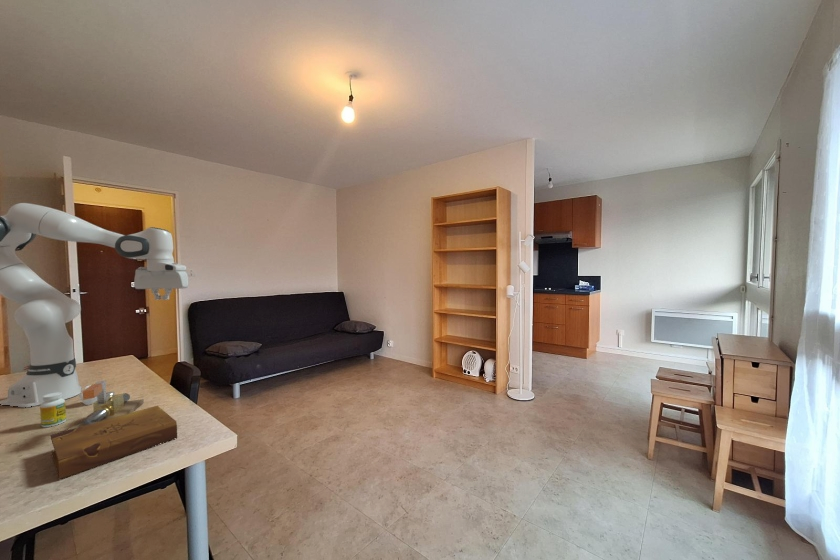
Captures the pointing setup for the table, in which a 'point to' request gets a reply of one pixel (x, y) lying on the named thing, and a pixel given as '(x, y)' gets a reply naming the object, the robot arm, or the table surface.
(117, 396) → the ball valve
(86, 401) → the muffin
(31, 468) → the table surface
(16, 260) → the robot arm
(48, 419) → the supplement bottle
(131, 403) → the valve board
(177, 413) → the table surface
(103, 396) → the valve lever
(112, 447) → the brown wooden block
